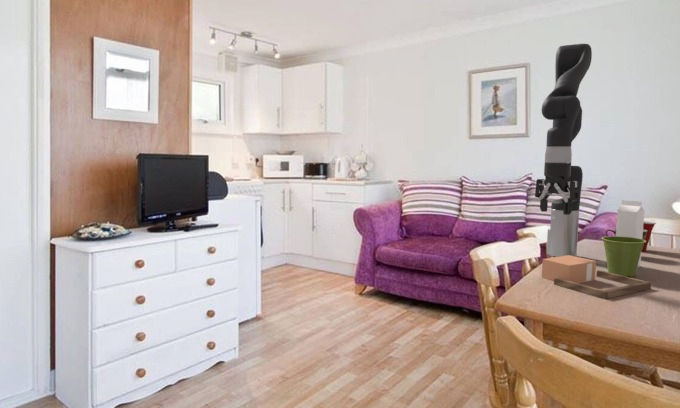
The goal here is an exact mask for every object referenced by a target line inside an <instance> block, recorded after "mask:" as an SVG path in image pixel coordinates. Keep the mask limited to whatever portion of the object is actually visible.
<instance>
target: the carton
mask: <svg viewBox="0 0 680 408" xmlns="http://www.w3.org/2000/svg"><path fill="white" fill-rule="evenodd" d="M541 268H542V269H541V278H542V279H546V280H550V281H553V282H554V278H560V279H564V280H568V281H571V282H575V283H579V284H582V283H585V282H586V283H587V282H592V281H595V280H596V273H597V270H596V268H597V261H596V260H594V259H593V260H592V259H588V258H582V257H579V256H577V257H575V256H570V255H567V256H560V257H554V256H553V257H548V258H542V267H541Z"/></svg>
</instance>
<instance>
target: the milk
mask: <svg viewBox="0 0 680 408" xmlns="http://www.w3.org/2000/svg"><path fill="white" fill-rule="evenodd" d="M642 203H643V202H642V201H637V200H636V201H635V200H626V199H625V200H621V205H620V206H619V208H618V209H617V213H616V226H615V228H616V236H619V237H632V238H638V239H642V237H643V224H644V221H645V209H644V208H643V207H642V205H643V204H642ZM641 261H642V253H641V254H640V258H639V262H638V266H637V268H639V267H641V263H642V262H641Z"/></svg>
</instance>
